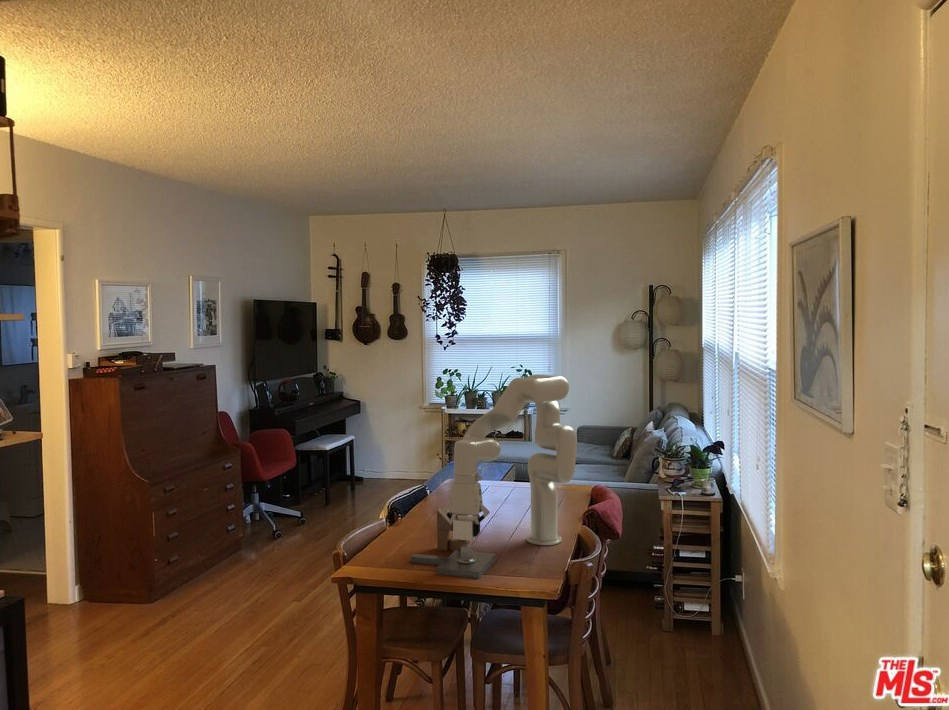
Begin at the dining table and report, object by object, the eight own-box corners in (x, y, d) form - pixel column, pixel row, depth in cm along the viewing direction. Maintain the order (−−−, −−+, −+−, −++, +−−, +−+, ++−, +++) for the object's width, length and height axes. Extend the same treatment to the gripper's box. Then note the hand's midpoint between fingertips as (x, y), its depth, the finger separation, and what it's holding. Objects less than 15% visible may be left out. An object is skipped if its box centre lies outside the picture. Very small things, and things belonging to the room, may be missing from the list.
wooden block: (440, 547, 241) (439, 496, 241) (469, 549, 239) (469, 498, 238) (437, 550, 238) (436, 498, 237) (467, 552, 235) (466, 500, 235)
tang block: (422, 552, 235) (422, 533, 235) (495, 559, 227) (495, 539, 227) (401, 570, 218) (401, 549, 218) (479, 578, 210) (478, 556, 210)
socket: (459, 533, 224) (459, 515, 224) (478, 535, 222) (478, 516, 222) (452, 538, 218) (452, 520, 218) (472, 540, 216) (472, 521, 216)
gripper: (495, 478, 221) (494, 533, 221) (444, 475, 226) (444, 529, 227) (488, 483, 214) (488, 540, 214) (436, 479, 219) (436, 535, 220)
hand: (465, 534), depth 220 cm, fingers closed on socket, 6 cm apart
